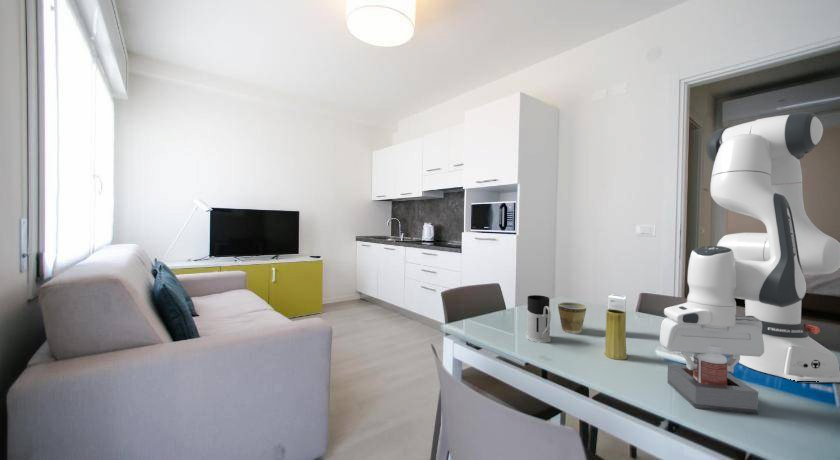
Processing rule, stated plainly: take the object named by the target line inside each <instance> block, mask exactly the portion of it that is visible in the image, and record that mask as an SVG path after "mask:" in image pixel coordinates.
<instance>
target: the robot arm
mask: <svg viewBox="0 0 840 460" xmlns="http://www.w3.org/2000/svg"><path fill="white" fill-rule="evenodd" d="M823 133H824V127H823V124H822V121H820V118H819V116H818V115H817V114H815V113H813V112H811V111H810V112H809V111H802V112H801V111H799V112H792V113H790V114H785V115H784V114H783V115H775V116H770V117H763V118H758V119H755V120H752V121H748V122H744V123H740V124H737V125H732V126H726V127H723V128H720V129H718V130H715V131H713V132H712V134H711V135H710V136H709V137H708V138H707V141H706V146H705V147H706V154H707V158H708V159H709V160H710V161H712V162H713V166H712V172H711V179H710V186H709V187H710V188H709V190H710V196H711V198H712V200H713V201H714V202H715V203H716V204H717V205H718V206H720V207H722V208H724V209H726V210H728V211H729V212H730V211H731V212H734V213H737V214H741V215H743V216H749V217H751V218H753V219H756V220H758V221H761V222H762V223H763V224H764V225H765V229H766V232H745V231H744V232H737V233H730V234H725V235H724V236H722V237H721V238H720V239H719V240H718V242H717V244H716V245H708V246H704V245H703V246H699V247H696V248H694V249H692V251H691V253H690V255H689V256H690V257H689V259H688V266H687V280H686V281H687V285H688V288H689V289H688V290H689V291H688V294H687V297H686V302H684V303H680V304H675V305H673V306H669V307H665V308H664V309H663V315H664V316H665V318H664V319H663V320H662V321H661V325H660V331H659V343H660V344H661V346H662V347H663V348H664V349H665V350H668V351H669V352H680V353H681V355H682V356H683V358H684V359H685V361H686V366H687V368H688V369H689V370H697V369H698V368H697V366H698V364H697V363H696V362H694V361H693V359H692V358H691V357H693V353H709V352H708V351H707V350H708V346H718V347H723V351H722V353H720V354H723V355H725V356H726V357H727V356H728V357H727V373H729V374H734V372H735V366H737V364H738V363H739V364H740V365H743V366H744V367H747V368H749V369H752V370H755V371H758V372H761V373H763V374H764V373H766V374H768V375H773V376H776V377H780V378H785V379H787V380H790V379H791V380H790V381H793V380H795V381H794V382H797V381H816V382H815V383H840V364H839V361H838V358H837V356H836V354H834V352H833V351H831V350H829V349H828V348H826V346H823V345H822V344H821V343H819V342H817V341H816V340H814V339H813V338H812V337H810V335H809V333H812V334H814V335H818V334H819V333H820V332H821V330H820V328H819V327H818V326H816V325H812V324H805V323H803V322H802V302H803V301H802V300H803V299H804V297H805V295H806V292H807V283H806V278H805V275H826V274H829V275H830V274H833V273H834V272H836V271H838V270H839V269H840V242H839V241H838V239H835V238H834V237H832V236H830V235H828V234H826V233H824V232H823V231H821V230H820V229H819V228H818V227H817V226H816V225H815V224H814V223H813V222H812V220H811V219H810V218H809V217H808V215H807V213H806V210H805V205H804V195H803V174H802V173H803V172H802V166H801V162H800V160H802V159H803V158H805V157H804V156H805V155H807V154H809V153H811V152H812V151H813V150H814V149H815V148H817V147H818V145H819V144H820V142H821V138H822V136H823ZM736 299H740V300H744V304H745V305H744V306H745V307H744V312H745V313H744V314H741V315H740V314H737V302H736ZM808 332H809V333H808ZM817 381H819V382H817Z"/></svg>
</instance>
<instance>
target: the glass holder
mask: <svg viewBox="0 0 840 460" xmlns="http://www.w3.org/2000/svg"><path fill="white" fill-rule="evenodd" d="M551 313H552V312H551V309H550V297H549V296H546V295H540V294H538V295H537V294H535V295H534V294H533V295H531V294H530V295H528V296H527V309H526V335H525V339H526V338H527V339H529V340H532V341H535V342H534V343H537V342H540V343H539V344H546V342H547V343H549V342H551V341H552V338H551V336H550V334H551V331H550V329H551V326H550V325H551V318H552V317H551V316H552V315H551ZM527 339H526V340H527ZM529 340H528V341H529ZM532 341H531V342H532Z"/></svg>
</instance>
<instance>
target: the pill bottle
mask: <svg viewBox="0 0 840 460" xmlns="http://www.w3.org/2000/svg"><path fill="white" fill-rule="evenodd" d="M707 351H708V352H709V353H693V356H692V357H693V359H692V361H694V362H696V363H697V364H698V366H697V368H698V369H697V370H693V378H694V379H696V380H697V381H698V382H699V383H704V384H716V385H727V360H728V357H727V355H725V354H720V353H722V351H723V347H718V346H708V350H707Z"/></svg>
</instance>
